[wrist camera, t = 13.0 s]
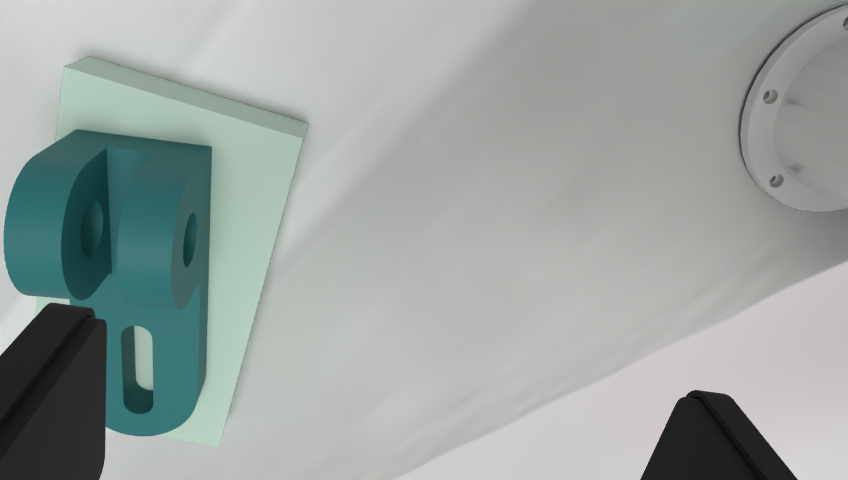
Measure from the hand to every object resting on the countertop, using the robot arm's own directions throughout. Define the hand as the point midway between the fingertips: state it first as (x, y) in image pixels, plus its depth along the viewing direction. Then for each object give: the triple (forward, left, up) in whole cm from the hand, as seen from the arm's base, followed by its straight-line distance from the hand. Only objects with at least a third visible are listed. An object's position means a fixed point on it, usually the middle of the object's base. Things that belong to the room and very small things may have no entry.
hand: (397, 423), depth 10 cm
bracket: (+11, +14, -25) cm, 31 cm away
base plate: (+11, +13, -29) cm, 34 cm away
